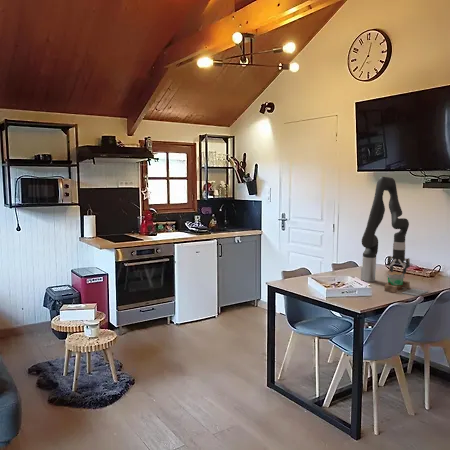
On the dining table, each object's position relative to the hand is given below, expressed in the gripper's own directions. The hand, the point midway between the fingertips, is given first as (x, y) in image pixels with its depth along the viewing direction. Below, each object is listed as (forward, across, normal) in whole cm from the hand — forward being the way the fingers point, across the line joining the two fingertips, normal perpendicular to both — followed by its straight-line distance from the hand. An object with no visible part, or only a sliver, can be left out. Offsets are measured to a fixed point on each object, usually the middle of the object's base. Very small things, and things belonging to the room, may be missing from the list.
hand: (397, 272), depth 302 cm
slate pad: (+11, +12, 0) cm, 16 cm away
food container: (+11, 0, 0) cm, 11 cm away
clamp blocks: (+11, 0, 0) cm, 11 cm away
